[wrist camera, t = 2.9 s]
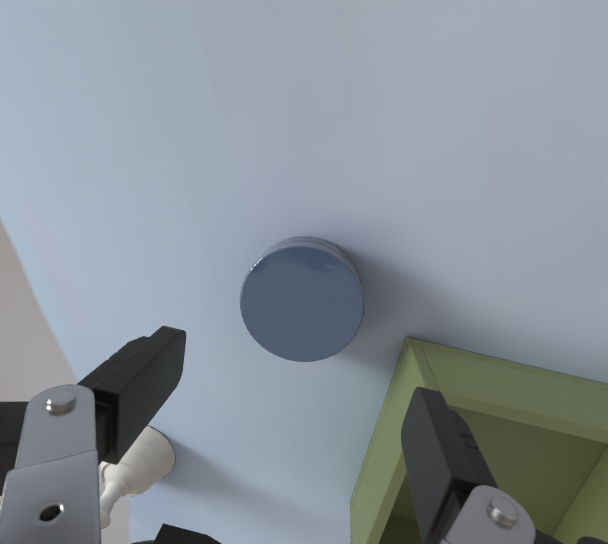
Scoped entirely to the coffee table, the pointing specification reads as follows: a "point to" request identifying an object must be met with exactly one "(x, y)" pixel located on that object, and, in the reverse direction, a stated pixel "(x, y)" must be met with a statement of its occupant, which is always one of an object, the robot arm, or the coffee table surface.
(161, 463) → the chalice
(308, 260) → the blue round puck
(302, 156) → the coffee table surface
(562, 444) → the tub
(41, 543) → the robot arm
